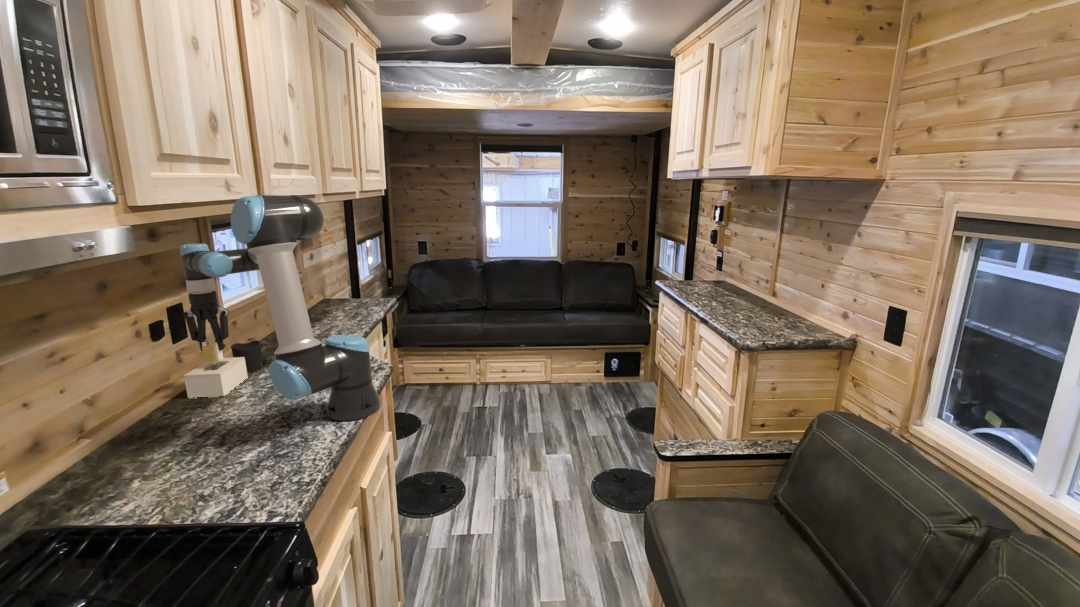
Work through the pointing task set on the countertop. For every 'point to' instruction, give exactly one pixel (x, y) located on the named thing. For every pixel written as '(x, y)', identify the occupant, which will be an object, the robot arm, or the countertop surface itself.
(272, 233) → the robot arm
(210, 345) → the block
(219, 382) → the box
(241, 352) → the pen holder
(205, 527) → the countertop surface
